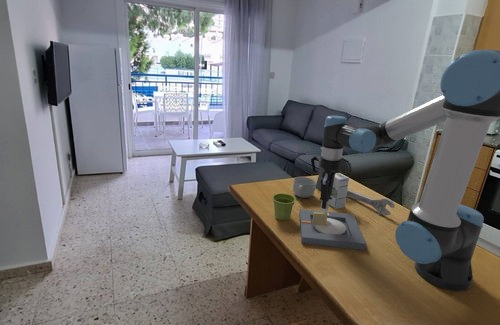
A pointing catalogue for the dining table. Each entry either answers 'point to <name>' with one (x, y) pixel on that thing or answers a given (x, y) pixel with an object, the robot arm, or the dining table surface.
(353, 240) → the dial housing
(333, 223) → the dial
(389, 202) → the wrench
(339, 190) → the syrup box
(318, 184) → the coffeepot
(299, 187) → the teacup
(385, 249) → the dining table surface
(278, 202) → the plant pot
